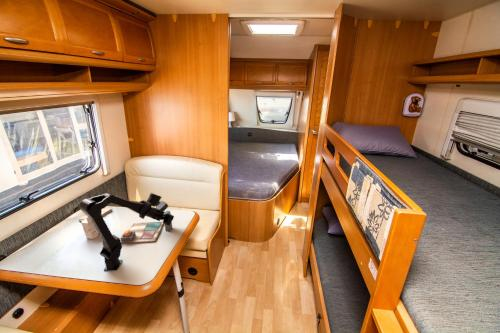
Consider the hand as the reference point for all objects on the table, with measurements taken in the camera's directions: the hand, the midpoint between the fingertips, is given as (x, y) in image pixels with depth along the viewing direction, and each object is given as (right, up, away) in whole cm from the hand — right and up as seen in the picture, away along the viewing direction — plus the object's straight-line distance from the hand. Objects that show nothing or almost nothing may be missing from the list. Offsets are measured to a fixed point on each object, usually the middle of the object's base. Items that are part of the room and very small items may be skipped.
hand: (169, 219), depth 144 cm
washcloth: (-58, -2, +17) cm, 61 cm away
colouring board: (-15, -8, -2) cm, 17 cm away
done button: (-21, -8, -9) cm, 25 cm away
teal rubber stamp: (-1, -7, +1) cm, 7 cm away
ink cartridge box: (-45, -9, -3) cm, 46 cm away
